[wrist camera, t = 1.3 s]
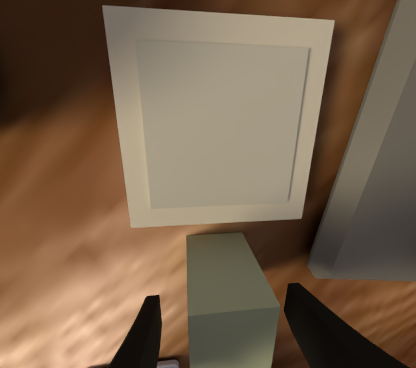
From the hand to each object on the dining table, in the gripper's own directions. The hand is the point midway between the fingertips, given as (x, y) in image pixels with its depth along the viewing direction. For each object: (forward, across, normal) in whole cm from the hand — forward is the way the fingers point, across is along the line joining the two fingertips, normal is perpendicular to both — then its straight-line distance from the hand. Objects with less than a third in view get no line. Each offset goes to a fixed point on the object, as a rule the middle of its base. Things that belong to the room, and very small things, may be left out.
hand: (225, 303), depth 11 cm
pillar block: (+4, 0, 0) cm, 4 cm away
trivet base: (+4, 0, -9) cm, 10 cm away
